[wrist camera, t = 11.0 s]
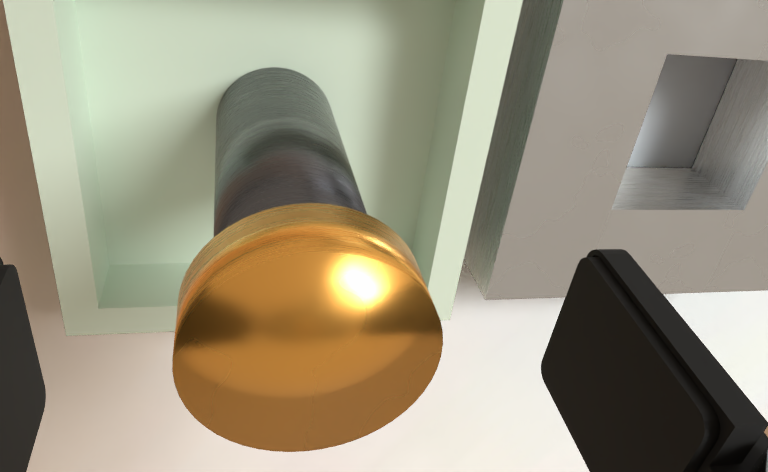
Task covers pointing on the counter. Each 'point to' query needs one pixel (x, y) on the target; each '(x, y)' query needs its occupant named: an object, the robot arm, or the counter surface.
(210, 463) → the counter surface
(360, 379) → the pin
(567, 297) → the robot arm
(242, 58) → the tray
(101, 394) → the counter surface
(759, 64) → the grey slotted block
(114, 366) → the counter surface
